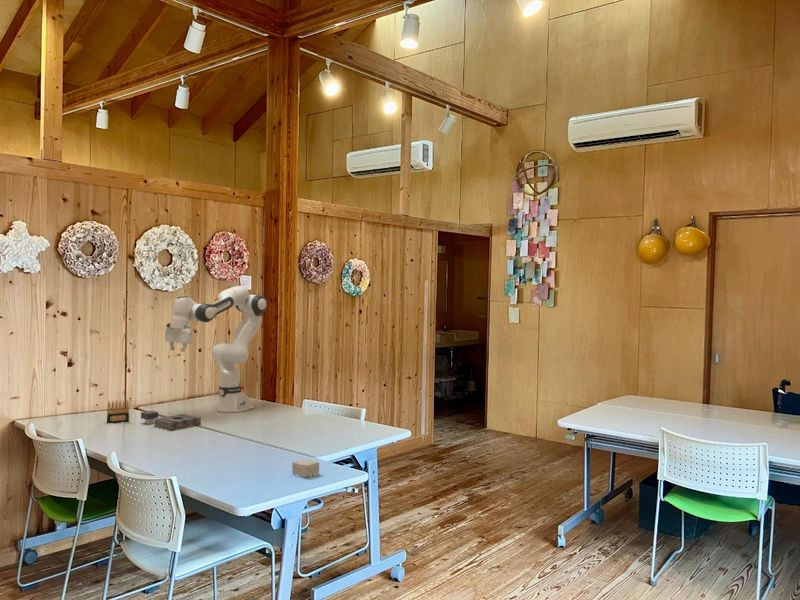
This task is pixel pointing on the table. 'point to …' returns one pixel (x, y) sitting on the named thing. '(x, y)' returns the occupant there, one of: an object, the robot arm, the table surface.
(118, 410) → the ammunition clip
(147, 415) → the plug
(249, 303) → the robot arm
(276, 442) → the table surface
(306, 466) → the small box
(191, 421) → the socket board
